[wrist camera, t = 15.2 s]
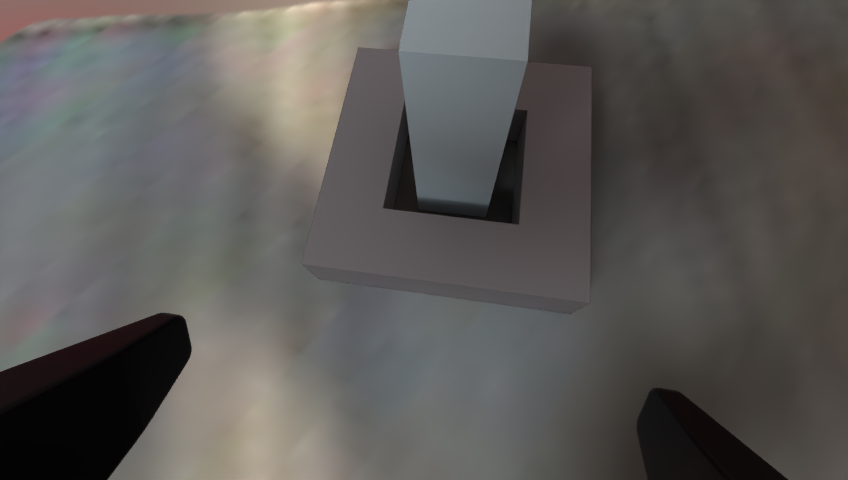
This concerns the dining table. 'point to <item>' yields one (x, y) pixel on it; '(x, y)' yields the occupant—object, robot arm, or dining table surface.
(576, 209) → the square socket base
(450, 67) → the slate block
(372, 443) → the dining table surface
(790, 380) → the dining table surface
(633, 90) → the dining table surface
